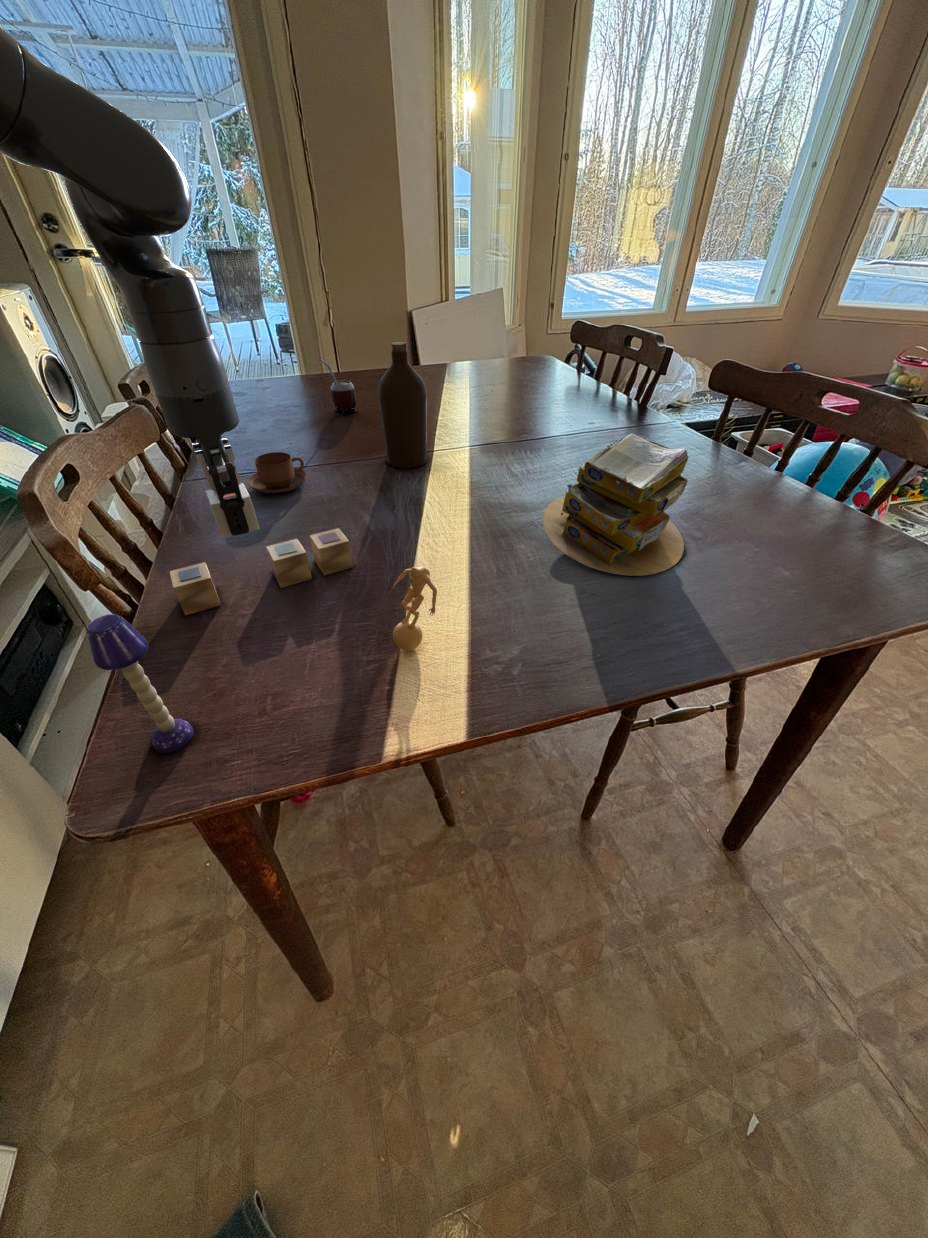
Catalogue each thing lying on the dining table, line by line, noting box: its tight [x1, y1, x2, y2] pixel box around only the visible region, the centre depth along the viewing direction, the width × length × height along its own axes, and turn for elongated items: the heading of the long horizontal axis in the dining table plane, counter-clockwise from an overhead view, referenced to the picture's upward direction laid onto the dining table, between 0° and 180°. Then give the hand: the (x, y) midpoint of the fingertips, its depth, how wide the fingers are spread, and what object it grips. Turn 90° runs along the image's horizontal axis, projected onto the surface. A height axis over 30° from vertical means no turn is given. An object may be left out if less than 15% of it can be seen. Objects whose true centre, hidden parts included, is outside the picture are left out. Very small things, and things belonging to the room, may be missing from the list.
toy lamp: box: [86, 613, 195, 754], centre depth 52 cm, size 5×5×17 cm
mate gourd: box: [318, 358, 357, 416], centre depth 146 cm, size 8×8×15 cm
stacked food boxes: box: [542, 432, 689, 577], centre depth 87 cm, size 25×25×17 cm
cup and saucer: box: [247, 451, 308, 494], centre depth 108 cm, size 12×12×6 cm
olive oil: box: [377, 341, 428, 469], centre depth 113 cm, size 11×11×25 cm
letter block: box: [205, 482, 260, 539], centre depth 65 cm, size 5×5×5 cm
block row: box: [169, 527, 354, 616], centre depth 80 cm, size 26×5×5 cm, turn 120°
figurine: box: [392, 565, 438, 651], centre depth 66 cm, size 8×6×12 cm
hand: (236, 523), depth 66 cm, fingers closed on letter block, 4 cm apart
